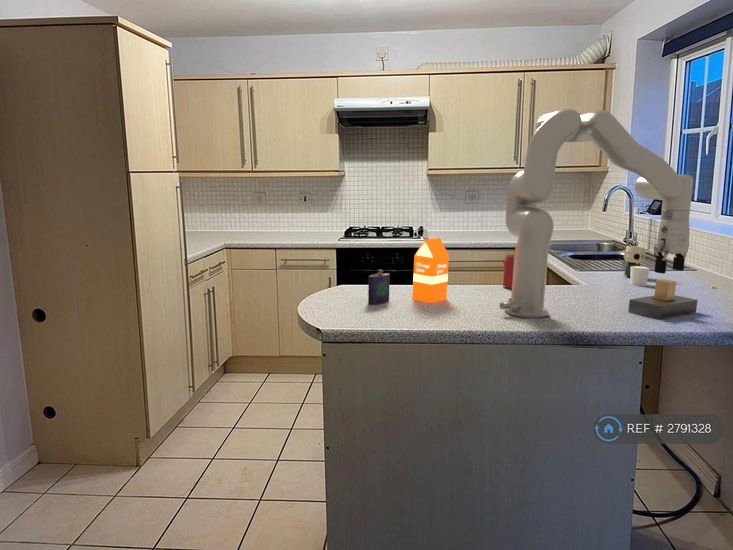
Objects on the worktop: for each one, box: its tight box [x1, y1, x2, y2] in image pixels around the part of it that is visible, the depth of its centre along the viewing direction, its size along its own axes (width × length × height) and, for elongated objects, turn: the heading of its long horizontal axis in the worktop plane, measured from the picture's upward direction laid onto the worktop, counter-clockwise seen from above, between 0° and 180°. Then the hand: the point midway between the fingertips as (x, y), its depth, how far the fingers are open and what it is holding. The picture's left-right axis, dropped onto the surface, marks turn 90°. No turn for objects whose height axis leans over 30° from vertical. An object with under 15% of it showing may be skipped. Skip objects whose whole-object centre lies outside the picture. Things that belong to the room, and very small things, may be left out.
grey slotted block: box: [627, 295, 698, 320], centre depth 171 cm, size 20×10×4 cm, turn 121°
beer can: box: [502, 254, 514, 290], centre depth 203 cm, size 7×7×12 cm
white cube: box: [629, 265, 651, 287], centre depth 216 cm, size 7×7×7 cm
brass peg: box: [653, 278, 677, 302], centre depth 171 cm, size 4×4×10 cm
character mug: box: [623, 245, 647, 278], centre depth 231 cm, size 11×7×13 cm, turn 108°
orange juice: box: [412, 237, 450, 304], centre depth 179 cm, size 8×9×20 cm
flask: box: [367, 269, 391, 306], centre depth 173 cm, size 9×3×11 cm, turn 138°
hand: (669, 271), depth 169 cm, fingers open, 9 cm apart
